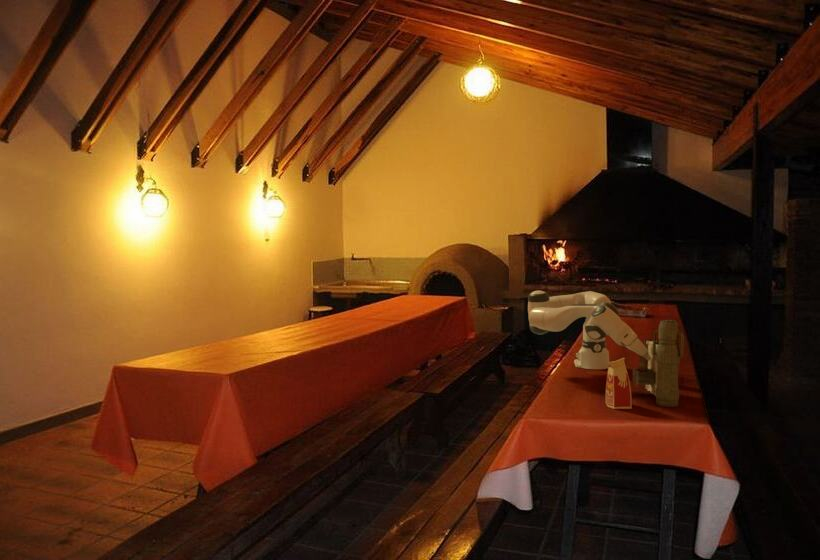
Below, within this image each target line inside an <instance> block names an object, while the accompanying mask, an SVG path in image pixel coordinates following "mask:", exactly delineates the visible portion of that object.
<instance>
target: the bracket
mask: <svg viewBox="0 0 820 560" xmlns="http://www.w3.org/2000/svg"><path fill="white" fill-rule="evenodd" d="M646 344H648V355H649V356H650V357H651V359H650V360H649V361H648V372H639V368H632V382H634V383H635V384H637V385H638V386H645V390H646V389H647V390H646V391H647V392H649V391H650V393H651V394H652V395H653V396H655V397H656V388H657V372H658V363H657V361H656V358H657V357H656V355H653V342H651V341H646ZM657 347H658V345H657V344H656V352H657ZM656 352H655V353H656Z"/></svg>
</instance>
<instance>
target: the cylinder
mask: <svg viewBox="0 0 820 560" xmlns="http://www.w3.org/2000/svg"><path fill="white" fill-rule="evenodd" d="M642 343H643V342H642ZM643 344H644V346H645V347H646V348H647V349H648V344H645V342H644V343H643ZM647 354H648V353H647ZM638 369H639V372H648V360H646V359H645V358H644V357H642V356H640V355H638Z"/></svg>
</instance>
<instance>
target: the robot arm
mask: <svg viewBox="0 0 820 560" xmlns="http://www.w3.org/2000/svg"><path fill="white" fill-rule="evenodd" d="M527 301H528V302H527V313H528V322H529V324H528V325H529V330H530V332H532V333H533V334H535V335H545V334H547V333H548V332H562V331H563V330H565V329H567V327H569V326H570V325H571V324H572V323H573V322H575V321H576V320H578V319H580V318H584V317H585V320H584V323H583V324H582V325H583V326H582V330H583V331H582V340H581V347H580V349H579V351H578V352H575V358H577V359H574V360H573V363H574V366H575V367H576V368H579V369H587V370H606V369H608V368H609V364H608V363H607V362H610V354H609V353H610V351H609V350H608V348H607V340H606V336H609V337H610V339H612V340H613V342H615V343H616V344H617V345H618V346H623V347H625V348H627V349H629V351H632V352H634V353H635V354H636V355H638V356H639V355H640V356H642V357H644V358H645V359H646V360H648V361H649V360H650V359H651V357H650V356H649V355H648V354H647V353H648V349H647V348H646V347H645V346H644V344H643V342H642V341H641V340H640V339H639V338H638V334H637V333H636V332H634V330H633V329H632V328H631V327H630V326H629V325H628V324H627V323H626V322H624V321H623V320H622V319H621V317H620V314H619V310H618V308H617V307H616V306H615V305H614V304H612V301H611V300H610V298H609V297H608V296H607V295H605V294H603V293H599V292H595V291H592V290H589V291H588V290H587V291H581V292H577V293H573V294H564V295H554V296H550V295H549V294H548V293H547V292H546V291H543V290H534V291H531V292H530V293H529V294H528V297H527Z"/></svg>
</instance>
